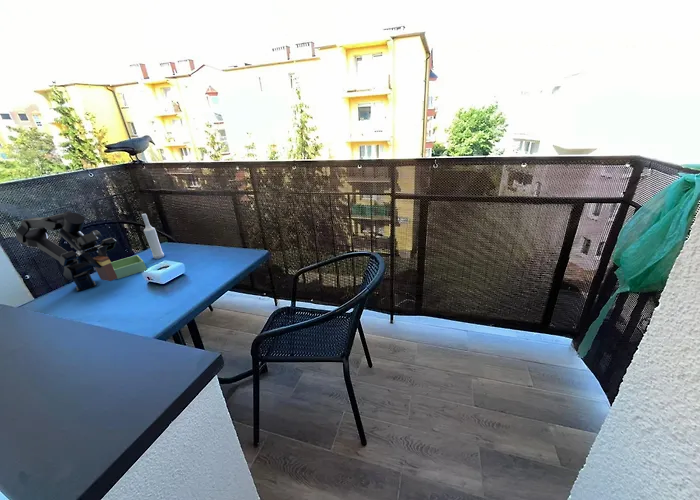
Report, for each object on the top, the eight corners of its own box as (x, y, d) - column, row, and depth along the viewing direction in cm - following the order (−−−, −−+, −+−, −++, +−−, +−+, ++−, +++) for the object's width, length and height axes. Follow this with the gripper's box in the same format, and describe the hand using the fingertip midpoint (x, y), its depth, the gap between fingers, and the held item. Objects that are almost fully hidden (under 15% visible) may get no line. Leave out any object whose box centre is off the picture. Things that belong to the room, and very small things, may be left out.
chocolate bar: (100, 279, 116) (90, 258, 112) (108, 276, 119) (98, 255, 114) (110, 281, 114) (100, 260, 110) (117, 277, 117) (108, 257, 113)
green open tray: (112, 271, 138) (108, 262, 136) (140, 263, 146) (137, 254, 144) (117, 279, 130) (113, 270, 128) (147, 269, 138) (143, 261, 136)
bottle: (160, 258, 150) (145, 215, 140) (151, 259, 150) (135, 215, 140) (166, 254, 155) (151, 212, 144) (157, 255, 155) (142, 212, 145)
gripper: (49, 234, 100) (82, 265, 101) (104, 219, 116) (132, 245, 117) (46, 252, 105) (77, 280, 107) (100, 235, 122) (126, 260, 123)
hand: (105, 265), depth 113 cm, fingers closed on chocolate bar, 3 cm apart
